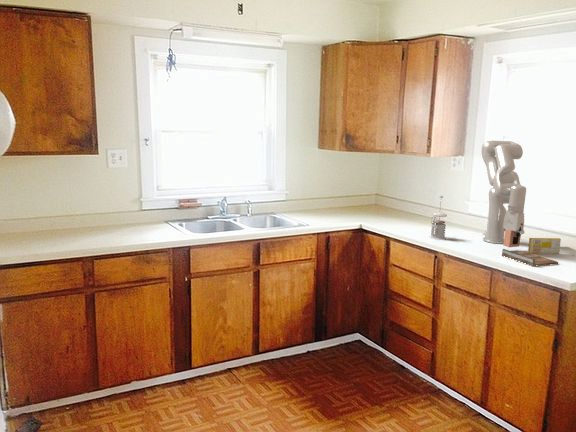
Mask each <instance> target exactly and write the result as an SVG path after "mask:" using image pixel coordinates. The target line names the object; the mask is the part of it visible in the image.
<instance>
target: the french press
mask: <svg viewBox="0 0 576 432" xmlns="http://www.w3.org/2000/svg"><path fill="white" fill-rule="evenodd" d="M439 198H440V199H442V198H444V196H443V195H439ZM439 205H440V206H439V207H440V208H439V209H441V207H442V206H441V205H442V202H440V204H439ZM446 217H448V216H447V214H446V213H444V212H443V211H437V212H434V213H432V217H431V221H430V223H431V231H430V232H431V233H430V236H428V238H429V239H432V240H437V241H444V240H447V237H446V236H445V235H446V221H445V220H440V218H446ZM436 218H438V219H437V220H435V219H436Z"/></svg>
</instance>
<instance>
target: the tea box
mask: <svg viewBox="0 0 576 432" xmlns="http://www.w3.org/2000/svg"><path fill="white" fill-rule="evenodd" d="M521 236H522V235H521ZM521 236H520V237H519V239H518V244H513V237H514V231H512V230H508V229H505V232H504V243H503V246H504V247H507V248H519V247H520V244H521Z"/></svg>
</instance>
